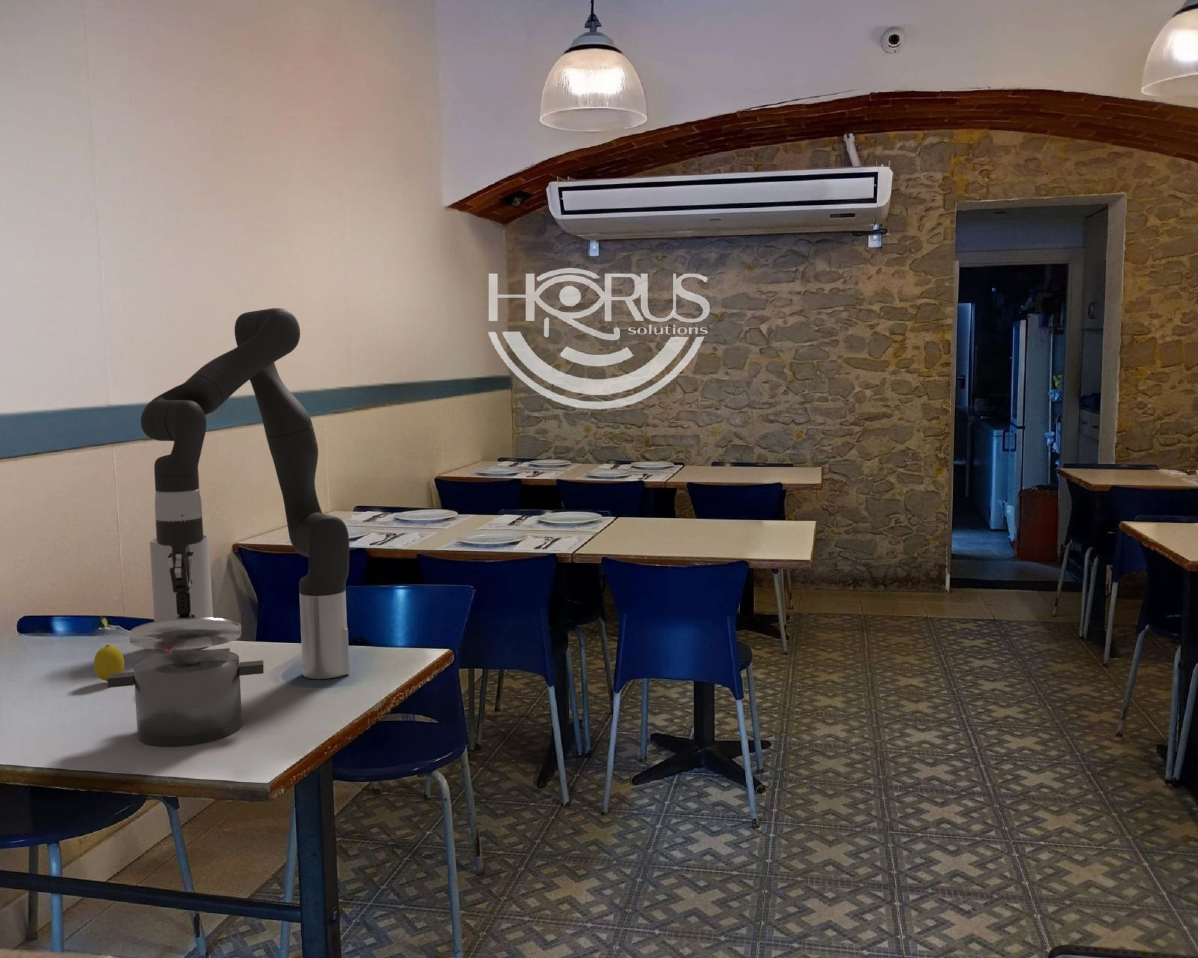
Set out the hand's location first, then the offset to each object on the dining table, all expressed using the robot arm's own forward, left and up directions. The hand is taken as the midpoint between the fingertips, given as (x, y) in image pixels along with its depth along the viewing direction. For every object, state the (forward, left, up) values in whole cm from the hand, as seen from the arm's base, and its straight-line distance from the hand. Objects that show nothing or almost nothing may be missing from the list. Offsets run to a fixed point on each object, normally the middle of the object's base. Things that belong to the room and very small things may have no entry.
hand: (184, 613), depth 181 cm
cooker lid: (0, +1, -4) cm, 4 cm away
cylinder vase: (+6, -61, -20) cm, 64 cm away
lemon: (+18, -34, -20) cm, 43 cm away
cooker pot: (0, +2, -20) cm, 20 cm away
